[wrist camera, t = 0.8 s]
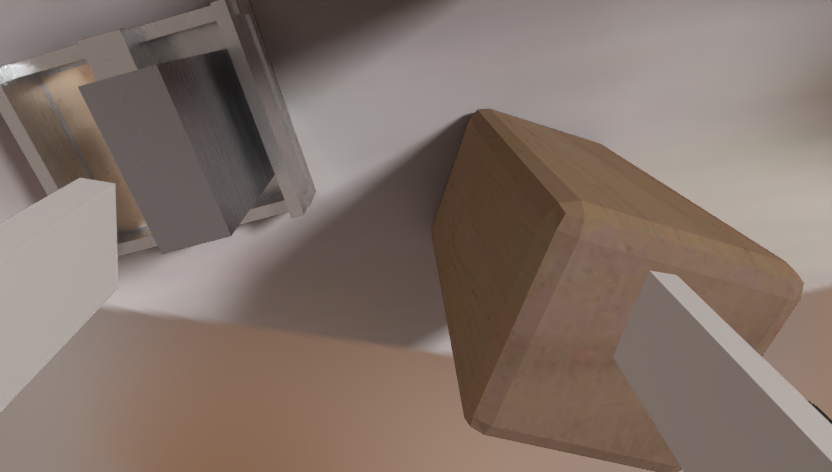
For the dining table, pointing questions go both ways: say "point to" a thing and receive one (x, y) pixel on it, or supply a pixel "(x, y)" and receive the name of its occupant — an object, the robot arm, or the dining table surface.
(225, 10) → the frame
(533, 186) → the block
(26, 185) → the dining table surface
